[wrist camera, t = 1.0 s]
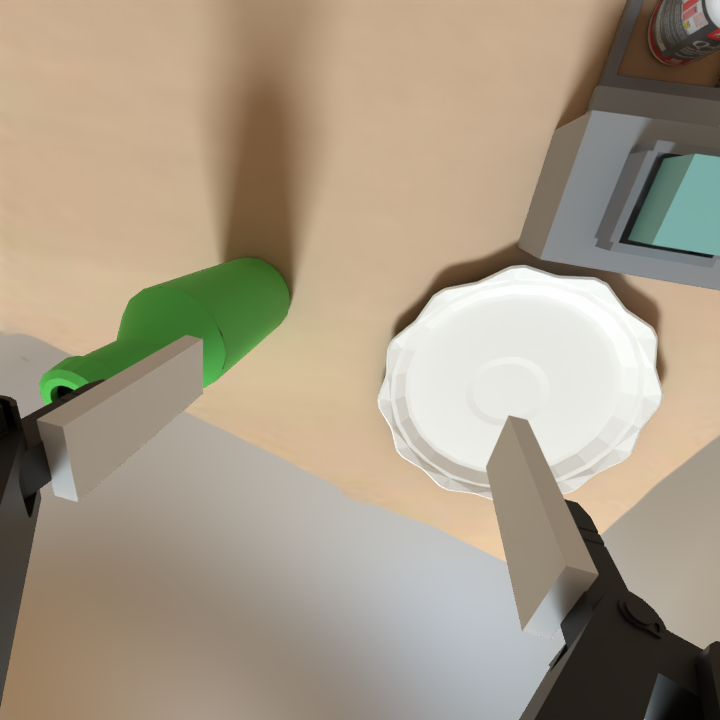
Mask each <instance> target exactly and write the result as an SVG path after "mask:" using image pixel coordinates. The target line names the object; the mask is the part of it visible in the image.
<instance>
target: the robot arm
mask: <svg viewBox="0 0 720 720" xmlns="http://www.w3.org/2000/svg"><path fill="white" fill-rule="evenodd" d="M202 394H203V339H201V338H197V337H193V336H189V335H185V336H183V337H181V338H180V339H178V340H176V341H174V342H173V343H171V344H169V345H167V346H166V347H164V348H162V349H160V350H159V351H157V352H155V353H153V354H152V355H150V356H148V357H146V358H144V359H143V360H141V361H139V362H137V363H136V364H134V365H132V366H130V367H129V368H127V369H125V370H123V371H122V372H120V373H118V374H116V375H114V376H113V377H111V378H109V379H107V380H105V379H101V380H98V381H94V382H91V383H88V384H85V385H83V386H81V387H79V388H77V389H76V390H74V391H72V392H71V394H69V393H68V394H66V395H65V396H63V397H61V398H60V399H59V400H55V401H53V402H52V403H50V404H48V405H46V406H44V407H43V408H41V409H39V410H37V411H35V412H33V413H31V414H30V415H28V416H26V417H24V418H22V419H21V418H20V414H19V410H18V406H17V402H16V400H14V399H13V398H11V397H7V396H2V395H0V706H1V701H2V696H3V691H4V685H5V680H6V675H7V670H8V665H9V660H10V655H11V649H12V644H13V639H14V634H15V629H16V624H17V619H18V614H19V609H20V604H21V599H22V593H23V588H24V583H25V577H26V573H27V568H28V563H29V557H30V553H31V548H32V542H33V537H34V532H35V527H36V522H37V517H38V512H39V507H40V501H41V494H40V490H39V489H40V488H41V487H43V486H44V485H46V484H47V483H48V482H50V481H51V482H52V486H53V490H54V494H55V496H59V497H63V498H66V499H69V500H73V501H76V502H79V501H80V500H81V499H82V498H83V497H85V496H86V495H87V494H88V493H89V492H90V491H91V490H93V489H94V488H95V487H96V486H97V485H98V484H100V483H101V482H102V481H103V480H104V479H105V478H106V477H108V476H109V475H110V474H111V473H112V472H113V471H114V470H116V469H117V468H118V467H119V466H120V465H121V464H122V463H124V462H125V461H126V460H127V459H128V458H129V457H130V456H132V455H133V454H134V453H135V452H136V451H137V450H139V449H140V448H141V447H142V446H143V445H144V444H145V443H147V442H148V441H149V440H150V439H151V438H152V437H153V436H155V435H156V434H157V433H158V432H159V431H160V430H161V429H162V428H164V427H165V426H166V425H167V424H168V423H169V422H171V421H172V420H173V419H174V418H175V417H176V416H178V414H180V413H181V412H182V411H183V410H184V409H186V408H187V407H188V406H189V405H190V404H191V403H192V402H194V401H195V400H196V399H197V398H198V397H199V396H200V395H202ZM486 471H487V475H488V479H489V484H490V488H491V493H492V497H493V502H494V506H495V511H496V515H497V520H498V524H499V529H500V533H501V538H502V542H503V547H504V551H505V556H506V560H507V565H508V569H509V573H510V578H511V582H512V587H513V592H514V595H515V601H516V605H517V609H518V614H519V619H520V623H521V628H522V631H523V632H527V633H530V634H534V635H537V636H541V637H544V638H548V639H552V637H553V636H554V634H555V633H556V632H557V630H558V629H559V628H560V626H561V629H562V632H563V636H564V639H565V642H566V644H565V645H564V646H563V648H562V649H561V650H560V651H559V653H558V654H557V655H556V656H555V658H554V659H553V660H552V662H551V663H550V664H549V666H550V669H549V670H548V672H547V674H546V675H545V677H544V679H543V680H542V682H541V684H540V685H539V687H538V689H537V690H536V692H535V694H534V695H533V697H532V699H531V701H530V702H529V704H528V706H527V707H526V709H525V711H524V712H523V714H522V716H521V718H520V719H519V720H644V719H645V720H720V642H718V641H716V642H714V643H712V644H710V645H709V646H708V647H706V648H705V649H704V650H703V649H701V648H699V647H697V646H695V645H693V644H692V643H690V642H688V641H686V640H684V639H682V638H681V637H678V636H677V635H675V634H673V633H671V632H670V631H668V630H666V627H665V625H664V623H663V621H662V619H661V618H660V617H659V616H658V614H657V613H656V612H655V611H654V609H653V608H651V607H650V606H649V605H648V604H647V603H646V602H645V601H644V600H643V599H641V598H639V597H638V596H636V595H635V594H633V593H632V592H630V591H628V589H627V587H626V585H625V583H624V581H623V579H622V577H621V575H620V573H619V571H618V569H617V567H616V566H615V564H614V562H613V560H612V558H611V556H610V554H609V552H608V550H607V548H606V547H604V542H603V540H602V538H601V536H600V535H599V534H598V531H597V529H596V527H595V525H594V523H593V521H592V519H591V517H590V516H589V515H588V514H587V513H586V512H585V510H584V509H583V508H582V507H581V506H580V505H579V504H578V503H576V502H573V501H569V500H565V499H564V498H563V496H562V493H561V491H560V489H559V487H558V485H557V483H556V480H555V478H554V476H553V474H552V472H551V470H550V467H549V465H548V463H547V461H546V459H545V456H544V454H543V452H542V450H541V448H540V446H539V443H538V441H537V439H536V437H535V435H534V433H533V430H532V428H531V426H530V424H529V422H528V420H526V419H522V418H518V417H514V416H510V415H508V418H507V420H506V422H505V425H504V427H503V429H502V431H501V434H500V436H499V438H498V440H497V443H496V445H495V447H494V449H493V452H492V454H491V456H490V459H489V461H488V463H487V465H486Z"/></svg>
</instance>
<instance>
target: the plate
mask: <svg viewBox="0 0 720 720" xmlns="http://www.w3.org/2000/svg"><path fill="white" fill-rule="evenodd" d="M657 343H658V337H657V335H656V332H655V330H654V328H653V327H652V326H651V325H649V324H648V323H646V322H645V321H644V320H642V319H641V318H639V317H638V316H636V315H635V314H633V313H632V312H630V311H629V310H627V309H626V308H625V306H624V305H623V304H622V302H621V301H620V300H619V298H618V297H617V296H616V294H615V293H614V292H613V290H612V289H611V287H610V286H609V285H608V283H606V282H604V281H602V280H600V279H598V278H596V277H585V276H562V275H555V274H552V273H549V272H546V271H543V270H540V269H536V268H533V267H530V266H527V265H514V266H509V267H507V268H505V269H503V270H500V271H498V272H496V273H494V274H492V275H490V276H488V277H486V278H483V279H481V280H479V281H476V282H471V283H466V284H461V285H456V286H451V287H446V288H443V289H442V290H440V291H439V292H437V293H435V294H434V295H433V296H432V297H431V299H430V300H429V302H428V303H427V304H426V306H425V307H424V309H423V310H422V311H421V313H420V314H419V316H418V317H417V318H416V320H415V321H413V322H412V323H411V324H410V325H409V326H407V327H406V328H405V329H404V330H402V331H401V332H400V333H399V334H397V335H396V336H395V337H394V338H392V340H391V342H390V344H389V346H388V348H387V363H386V376H385V379H384V381H383V384H382V387H381V390H380V392H379V395H378V407H379V409H380V411H381V412H382V414H383V416H384V418H385V419H386V421H387V423H388V424H389V426H390V428H391V431H392V435H393V439H394V443H395V447H396V450H397V452H398V453H399V454H400V455H401V457H403V458H404V459H406V460H408V461H409V462H411V463H413V464H414V465H416V466H418V467H419V468H421V469H423V470H424V471H425V472H426V473H427V474H428V475H429V476H430V477H431V478H432V479H433V480H434V481H435V482H436V483H437V484H438V485H439V486H440V487H442V488H445V489H447V490H450V491H458V492H465V493H473V494H477V495H480V496H483V497H485V498H488V499H491V500H493V497H492V493H491V488H490V484H489V479H488V475H487V471H486V465H487V463H488V461H489V459H490V456H491V454H492V452H493V449H494V447H495V445H496V443H497V440H498V438H499V436H500V434H501V431H502V429H503V427H504V425H505V422H506V420H507V418H508V415H510V416H514V417H518V418H522V419H526V420H528V422H529V424H530V426H531V428H532V430H533V433H534V435H535V437H536V439H537V441H538V443H539V446H540V448H541V450H542V452H543V454H544V456H545V459H546V461H547V463H548V465H549V467H550V470H551V472H552V474H553V476H554V478H555V480H556V483H557V485H558V487H559V489H560V491H561V493H562V494H566V493H569V492H572V491H575V490H576V489H577V488H579V487H580V486H581V485H582V484H584V483H585V482H586V481H588V480H589V479H590V478H591V477H593V476H594V475H595V474H597V473H599V472H601V471H603V470H605V469H607V468H609V467H611V466H614V465H616V464H618V463H620V462H622V461H624V460H625V459H626V458H627V457H628V456H629V455H630V454H631V453H632V452H633V449H634V447H635V444H636V442H637V439H638V437H639V434H640V432H641V429H642V428H643V426H644V425H645V424H646V423H647V421H648V420H649V419H650V417H651V416H652V415H653V414H654V412H655V411H656V410H657V409H658V407H659V406H660V405H661V402H662V398H663V394H664V393H663V390H662V386H661V383H660V380H659V376H658V373H657V370H656V358H657Z"/></svg>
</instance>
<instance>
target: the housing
mask: <svg viewBox="0 0 720 720" xmlns="http://www.w3.org/2000/svg"><path fill="white" fill-rule="evenodd" d="M642 3H643V0H627V3H626V6H625V9H624V12H623V14H622V17H621V20H620V23H619V26H618V29H617V32H616V34H615V37H614V40H613V43H612V46H611V49H610V52H609V54H608V57H607V60H606V63H605V66H604V69H603V71H602V74H601V77H600V80H599V83H598V86H597V87H596V88H594V90H593V93H592V96H591V98H590V101H589V104H588V107H587V110H586V113H585V114H584V115H583V116H581V117H579V118H577V119H575V120H573V121H571V122H569V123H567V124H565V125H563V126H561V127H560V128H558V129H556V130H555V131H554V134H553V137H552V141H551V144H550V147H549V150H548V153H547V156H546V159H545V162H544V165H543V168H542V171H541V175H540V178H539V181H538V184H537V187H536V190H535V193H534V196H533V199H532V202H531V206H530V209H529V212H528V215H527V218H526V221H525V224H524V227H523V230H522V233H521V237H520V240H519V243H518V246H517V247H518V248H520V249H522V250H524V251H526V252H527V253H529V254H531V255H533V256H535V257H537V258H538V259H541V260H547V261H553V262H558V263H564V264H570V265H576V266H581V267H587V268H593V269H599V270H604V271H610V272H616V273H622V274H628V275H633V276H639V277H645V278H651V279H656V280H662V281H668V282H674V283H679V284H685V285H691V286H697V287H702V288H708V289H714V290H720V256H717V255H711V254H705V253H699V252H693V251H687V250H681V249H675V248H669V247H663V246H657V245H651V244H646V243H642V242H637V241H632V240H628V238H629V236H630V234H631V231H632V229H633V227H634V225H635V222H636V220H637V218H638V216H639V213H640V211H641V209H642V207H643V204H644V202H645V200H646V198H647V195H648V193H649V191H650V189H651V186H652V184H653V182H654V180H655V178H656V175H657V173H658V171H659V169H660V166H661V164H662V162H663V160H664V159H665V158H671V157H678V156H684V155H690V154H701V155H708V156H715V157H720V127H719V125H720V79H719V82H718V84H717V86H716V88H715V87H707V86H699V85H692V84H684V83H676V82H668V81H660V80H652V79H645V78H637V77H629V76H621V75H616V74H617V72H618V69H619V66H620V63H621V61H622V58H623V55H624V52H625V50H626V47H627V44H628V41H629V39H630V36H631V33H632V30H633V28H634V25H635V22H636V19H637V17H638V14H639V11H640V8H641V6H642Z"/></svg>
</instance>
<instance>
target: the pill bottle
mask: <svg viewBox="0 0 720 720" xmlns="http://www.w3.org/2000/svg"><path fill="white" fill-rule="evenodd" d="M648 43H649V47H650V50H651V52H652V54H653V55H654V56H655V58H657V59H658V60H659V61H660V62H662V63H664V64H667V65H673V66H679V65H685V64H689V63H692V62H694V61H697V60H699V59H701V58H703V57H705V56H707V55H709V54H711V53H713V52H715V51H717V50H719V49H720V0H659V2H658V4H657V5H656V7H655V9H654V11H653V14H652V16H651V19H650V23H649V28H648Z"/></svg>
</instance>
